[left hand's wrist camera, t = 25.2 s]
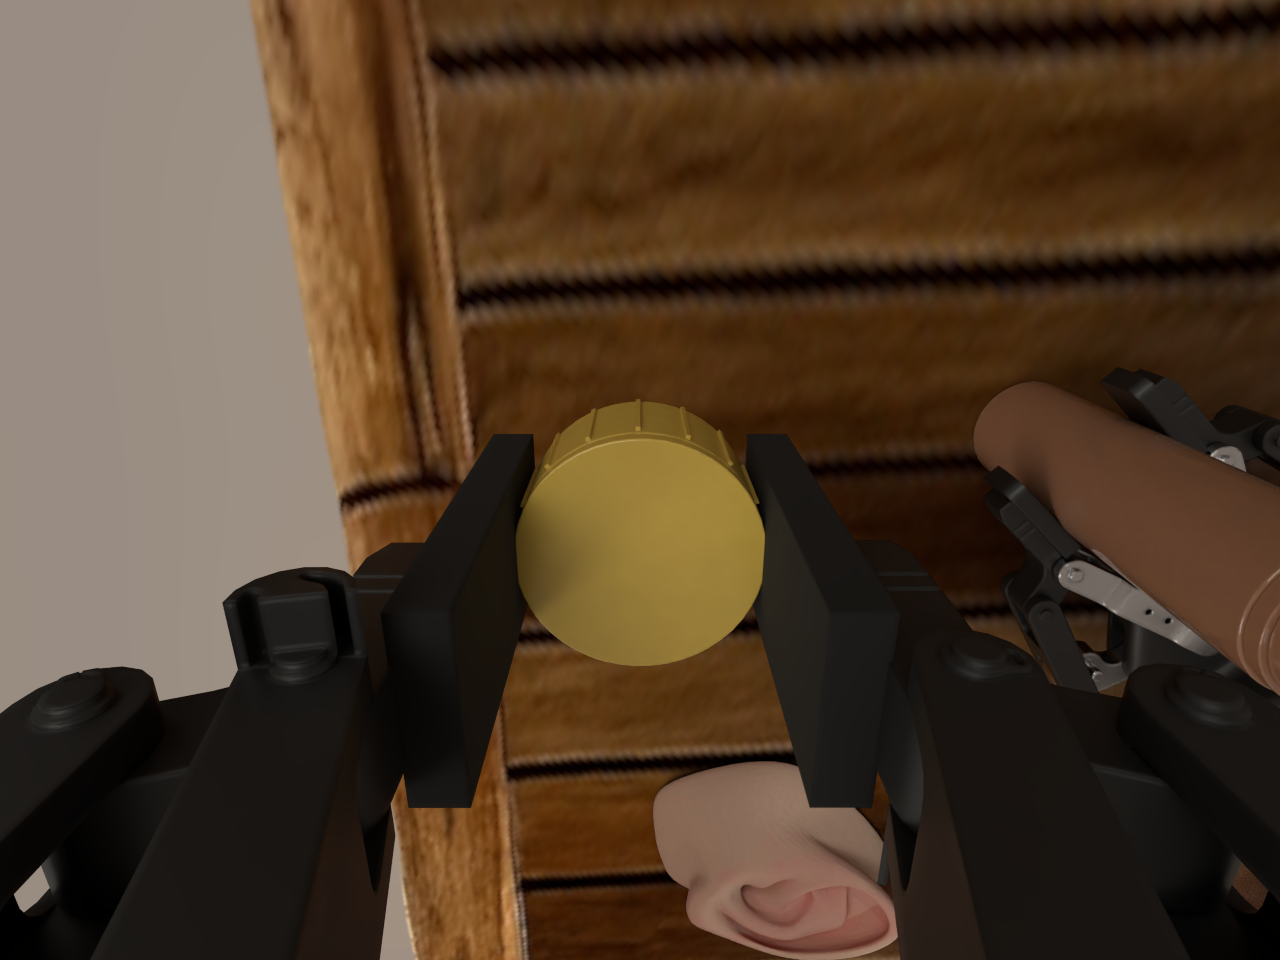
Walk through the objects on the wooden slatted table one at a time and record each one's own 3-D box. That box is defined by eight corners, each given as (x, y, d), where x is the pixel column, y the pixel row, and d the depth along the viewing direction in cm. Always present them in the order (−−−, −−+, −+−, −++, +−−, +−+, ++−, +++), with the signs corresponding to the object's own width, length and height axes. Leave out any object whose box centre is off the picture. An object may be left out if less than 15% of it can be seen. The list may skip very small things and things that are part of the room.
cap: (792, 473, 14) (821, 524, 12) (670, 633, 15) (675, 706, 13) (604, 355, 13) (598, 385, 11) (492, 534, 14) (466, 593, 12)
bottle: (1076, 469, 33) (1689, 851, 14) (974, 486, 34) (1429, 884, 14) (1077, 372, 32) (1775, 648, 12) (971, 391, 32) (1479, 691, 12)
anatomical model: (612, 869, 37) (814, 773, 34) (615, 808, 40) (797, 717, 38) (743, 1018, 41) (932, 941, 38) (735, 949, 44) (907, 875, 42)
